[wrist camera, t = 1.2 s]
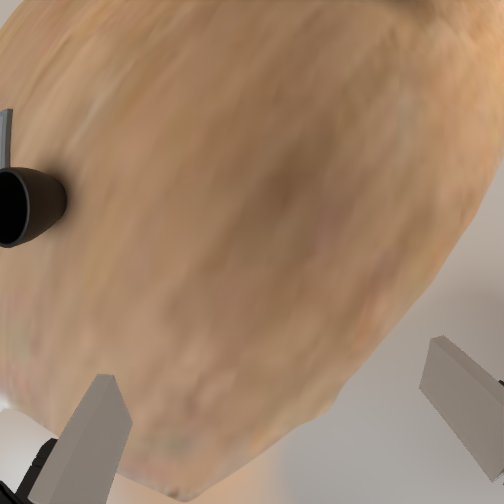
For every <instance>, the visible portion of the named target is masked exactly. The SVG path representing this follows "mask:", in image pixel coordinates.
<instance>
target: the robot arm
mask: <svg viewBox="0 0 504 504" xmlns="http://www.w3.org/2000/svg"><path fill="white" fill-rule="evenodd" d="M419 389H420V390H421V391H422V392H423V394H424V395H425V396H426V397H427V399H428V400H429V401H430V402H431V404H432V405H433V406H434V407H435V409H436V410H437V411H438V412H439V414H440V415H441V416H442V417H443V419H444V420H445V421H446V422H447V424H448V425H449V426H450V427H451V429H452V430H453V431H454V433H455V434H456V435H457V436H458V438H459V439H460V440H461V442H462V443H463V444H464V446H465V447H466V448H467V449H468V451H469V452H470V453H471V455H472V456H473V457H474V459H475V460H476V461H477V463H478V464H479V465H480V467H481V468H482V469H483V471H484V472H485V474H486V475H487V476H488V478H489V479H490V480H491V482H494V481H495V480H497V479H498V478H499V477H501V476H502V475H504V382H503V381H501V380H500V381H497V380H496V379H495V378H493V377H492V376H491V375H490V374H489V373H488V372H486V370H484V369H483V368H482V367H481V366H480V365H478V364H477V363H476V362H475V361H474V360H473V359H472V358H470V357H469V356H468V355H467V354H466V353H464V352H463V351H462V350H461V349H460V348H459V347H457V346H456V345H455V344H454V343H452V342H451V341H450V340H449V339H448V338H446V337H445V336H439V337H436V338H433V339H431V341H430V345H429V350H428V354H427V359H426V363H425V367H424V371H423V375H422V379H421V383H420V386H419ZM132 424H133V421H132V419H131V417H130V415H129V412H128V410H127V407H126V405H125V403H124V400H123V398H122V395H121V393H120V390H119V387H118V385H117V382H116V379H115V377H114V375H107V374H98V375H97V376H96V378H95V379H94V381H93V382H92V384H91V386H90V387H89V389H88V390H87V392H86V394H85V395H84V397H83V399H82V400H81V402H80V403H79V405H78V407H77V408H76V410H75V412H74V413H73V415H72V417H71V418H70V420H69V422H68V424H67V425H66V427H65V429H64V430H63V432H62V434H61V436H60V437H59V439H53V438H51V439H50V440H48V441H47V442H46V443H45V444H44V445H42V447H41V448H40V450H39V452H38V453H37V455H36V458H35V459H34V460H33V462H32V466H30V467H29V469H28V471H27V473H26V475H25V476H24V478H23V480H22V482H21V484H20V486H19V487H18V489H17V491H16V493H15V494H14V493H13V492H12V491H11V490H10V489H9V488H8V487H7V486H6V484H4V483H3V482H2V481H0V504H106V501H107V497H108V494H109V491H110V488H111V485H112V482H113V479H114V476H115V473H116V470H117V467H118V464H119V461H120V458H121V455H122V452H123V450H124V447H125V444H126V441H127V438H128V435H129V433H130V430H131V427H132Z"/></svg>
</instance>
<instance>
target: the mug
mask: <svg viewBox="0 0 504 504" xmlns="http://www.w3.org/2000/svg"><path fill="white" fill-rule="evenodd" d="M66 202H67V198H66V192H65V189H64V187H63V186H62V184H61V183H60V182H59V181H57V180H56V179H53V178H52V177H50V176H48V175H46V174H44V173H42V172H40V171H37V170H33V169H29V168H21V167H7V168H2V169H0V246H1V247H4V248H11V247H14V246H17V245H20V244H22V243H25V242H28V241H31V240H33V239H34V238H36V237H38V236H39V235H40V234H42V233H43V232H45V231H46V230H47V229H49V228H50V227H51V226H52V225H53V224H54V223H55V222H56V221H57V220H58V219H60V217H61V216H62V215H63V213H64V211H65V208H66Z"/></svg>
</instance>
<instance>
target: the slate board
mask: <svg viewBox="0 0 504 504" xmlns="http://www.w3.org/2000/svg"><path fill="white" fill-rule="evenodd" d="M11 121H12V109H5V110H3V111H1V112H0V169H2V168H7V167H10V136H11Z"/></svg>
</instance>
